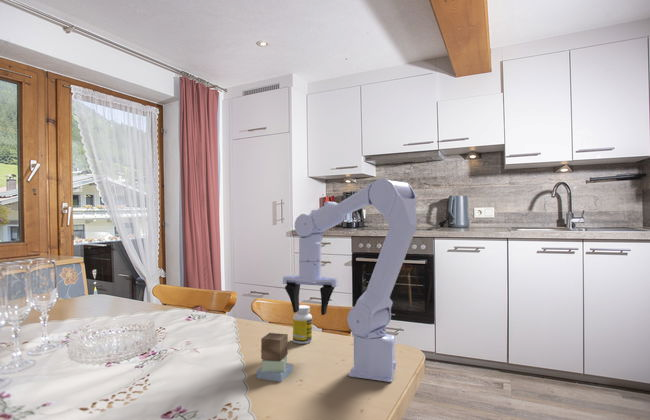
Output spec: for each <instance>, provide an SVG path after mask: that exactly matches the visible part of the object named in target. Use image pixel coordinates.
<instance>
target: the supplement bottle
mask: <svg viewBox="0 0 650 420" xmlns="http://www.w3.org/2000/svg"><path fill="white" fill-rule="evenodd" d="M310 311H311V306H310V305H307V304H306V305H305V304H299V311H298V312H296V313H294V314H293V316H292V341H293V342H294V343H295V344H299V345H305V344H309V343H311V341H312V340H313V336H312V335H313V316H312V314H311V313H310Z"/></svg>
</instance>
